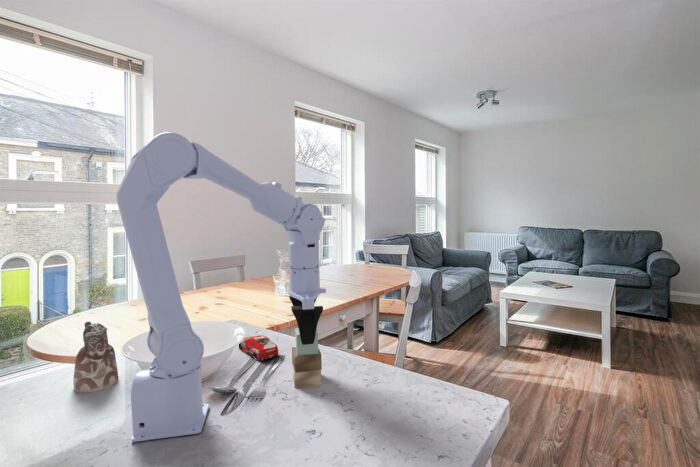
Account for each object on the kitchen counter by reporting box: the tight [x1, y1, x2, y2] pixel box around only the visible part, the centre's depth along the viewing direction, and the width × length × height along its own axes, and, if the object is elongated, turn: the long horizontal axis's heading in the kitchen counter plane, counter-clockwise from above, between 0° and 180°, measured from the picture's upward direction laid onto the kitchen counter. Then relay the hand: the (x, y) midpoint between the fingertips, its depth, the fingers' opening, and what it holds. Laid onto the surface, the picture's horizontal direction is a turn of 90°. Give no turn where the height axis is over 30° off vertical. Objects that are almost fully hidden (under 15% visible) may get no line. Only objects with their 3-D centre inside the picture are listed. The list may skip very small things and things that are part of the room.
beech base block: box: [292, 366, 322, 388], centre depth 72 cm, size 5×5×3 cm
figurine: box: [72, 321, 119, 393], centre depth 72 cm, size 7×7×12 cm
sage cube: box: [294, 327, 319, 356], centre depth 72 cm, size 4×4×4 cm
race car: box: [238, 334, 279, 361], centre depth 87 cm, size 13×5×4 cm, turn 39°
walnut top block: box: [291, 346, 323, 373], centre depth 72 cm, size 5×5×3 cm
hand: (306, 336), depth 72 cm, fingers open, 7 cm apart
